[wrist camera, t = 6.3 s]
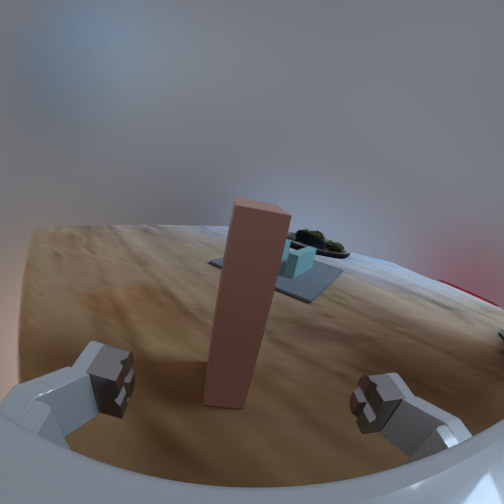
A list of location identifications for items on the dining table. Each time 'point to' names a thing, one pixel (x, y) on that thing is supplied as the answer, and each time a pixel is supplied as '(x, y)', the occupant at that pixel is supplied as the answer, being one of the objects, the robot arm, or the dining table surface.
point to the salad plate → (317, 243)
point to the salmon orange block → (244, 299)
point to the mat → (301, 280)
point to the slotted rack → (298, 260)
